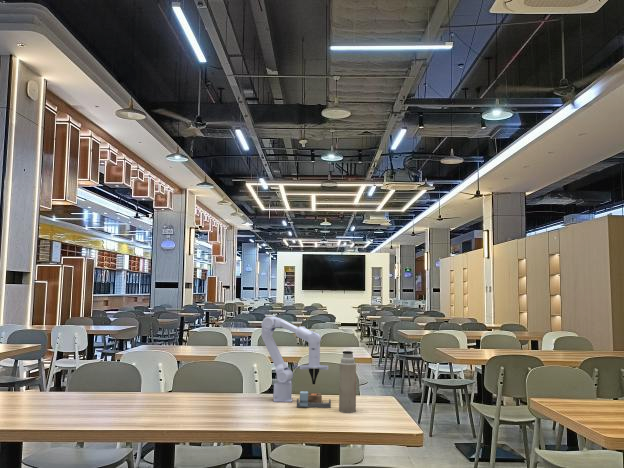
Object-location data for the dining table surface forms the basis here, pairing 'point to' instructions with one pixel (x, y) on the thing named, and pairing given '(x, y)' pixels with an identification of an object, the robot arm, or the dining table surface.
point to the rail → (316, 404)
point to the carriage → (303, 398)
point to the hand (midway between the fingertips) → (313, 383)
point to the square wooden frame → (314, 397)
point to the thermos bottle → (347, 383)
